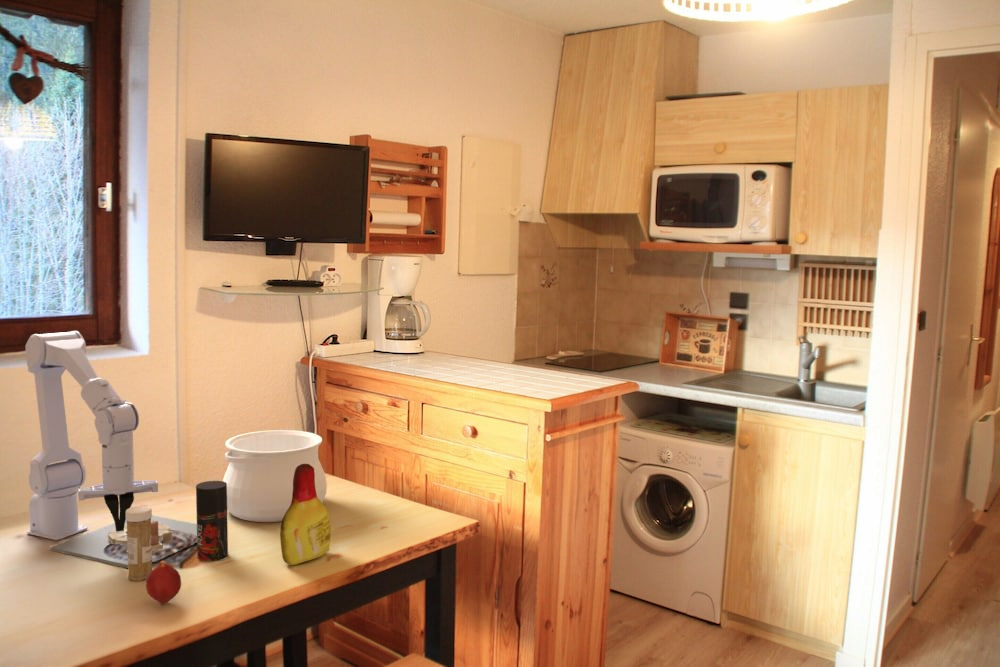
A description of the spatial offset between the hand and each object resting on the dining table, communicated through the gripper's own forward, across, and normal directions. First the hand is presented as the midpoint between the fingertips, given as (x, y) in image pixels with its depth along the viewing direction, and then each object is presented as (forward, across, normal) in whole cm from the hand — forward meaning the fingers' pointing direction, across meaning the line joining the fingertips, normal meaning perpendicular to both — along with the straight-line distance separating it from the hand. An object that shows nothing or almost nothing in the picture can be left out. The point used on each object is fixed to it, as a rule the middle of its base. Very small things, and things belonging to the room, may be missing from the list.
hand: (119, 529), depth 169 cm
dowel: (+6, +9, +1) cm, 11 cm away
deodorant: (+6, +17, -8) cm, 19 cm away
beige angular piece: (+5, +5, +5) cm, 9 cm away
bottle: (+6, +33, -18) cm, 38 cm away
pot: (+6, +35, +17) cm, 40 cm away
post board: (+6, +4, +8) cm, 11 cm away
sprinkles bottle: (+6, +3, -12) cm, 14 cm away
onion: (+6, +5, -27) cm, 28 cm away
